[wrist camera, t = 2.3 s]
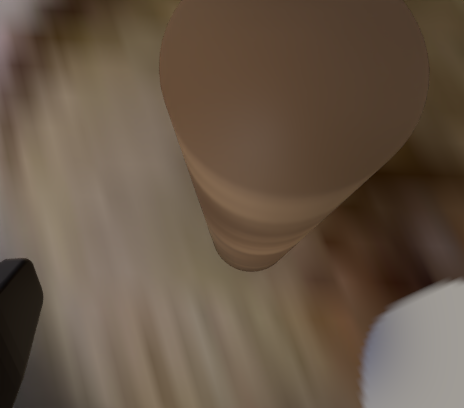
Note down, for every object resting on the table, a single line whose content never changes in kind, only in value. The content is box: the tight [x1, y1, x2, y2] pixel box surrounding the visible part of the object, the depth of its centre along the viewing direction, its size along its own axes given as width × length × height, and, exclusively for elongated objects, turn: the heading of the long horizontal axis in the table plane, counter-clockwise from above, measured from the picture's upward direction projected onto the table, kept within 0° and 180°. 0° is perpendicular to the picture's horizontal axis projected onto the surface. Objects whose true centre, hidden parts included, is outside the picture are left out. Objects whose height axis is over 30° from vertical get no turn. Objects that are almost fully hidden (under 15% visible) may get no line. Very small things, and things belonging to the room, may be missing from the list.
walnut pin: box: [159, 0, 429, 272], centre depth 11 cm, size 3×3×13 cm
